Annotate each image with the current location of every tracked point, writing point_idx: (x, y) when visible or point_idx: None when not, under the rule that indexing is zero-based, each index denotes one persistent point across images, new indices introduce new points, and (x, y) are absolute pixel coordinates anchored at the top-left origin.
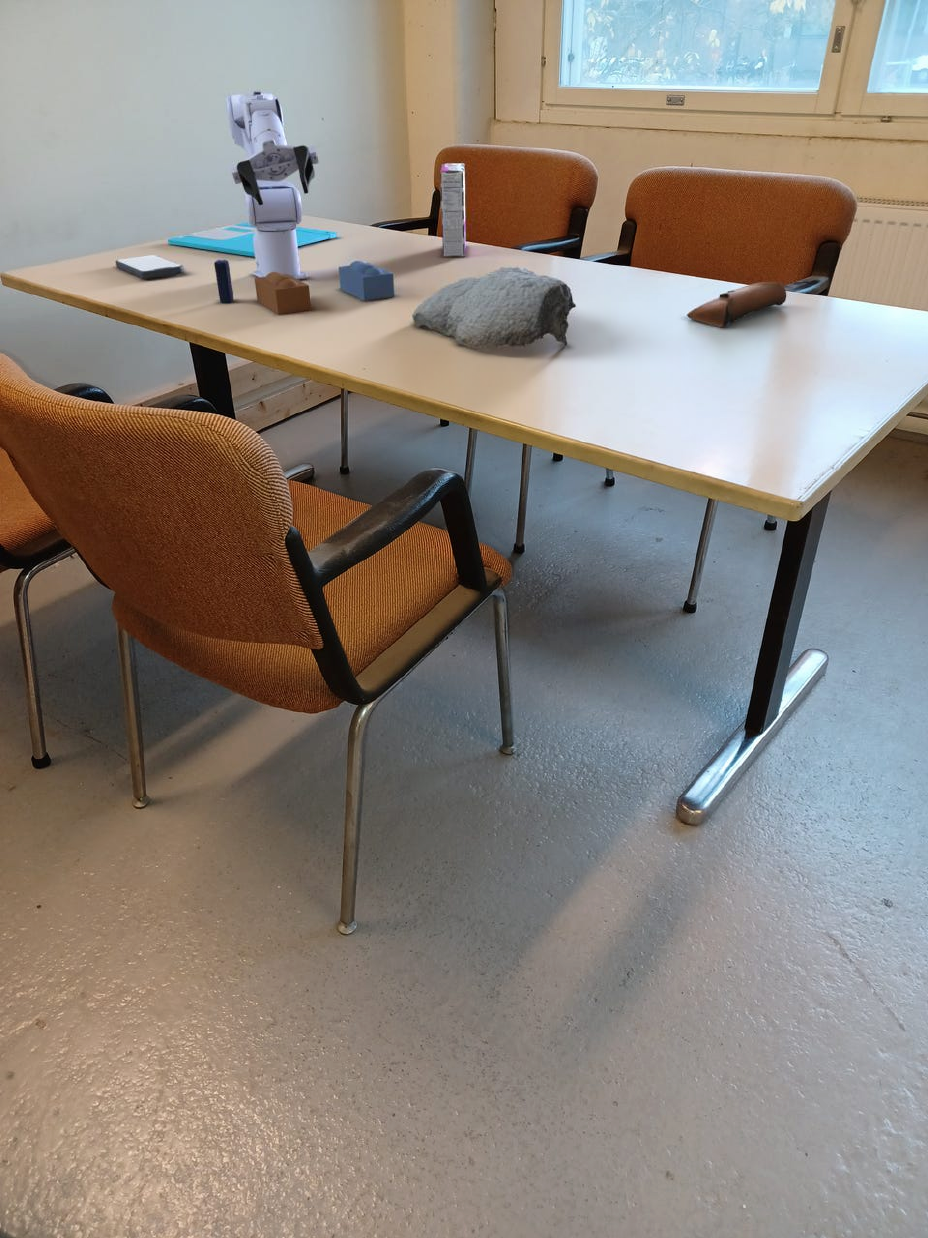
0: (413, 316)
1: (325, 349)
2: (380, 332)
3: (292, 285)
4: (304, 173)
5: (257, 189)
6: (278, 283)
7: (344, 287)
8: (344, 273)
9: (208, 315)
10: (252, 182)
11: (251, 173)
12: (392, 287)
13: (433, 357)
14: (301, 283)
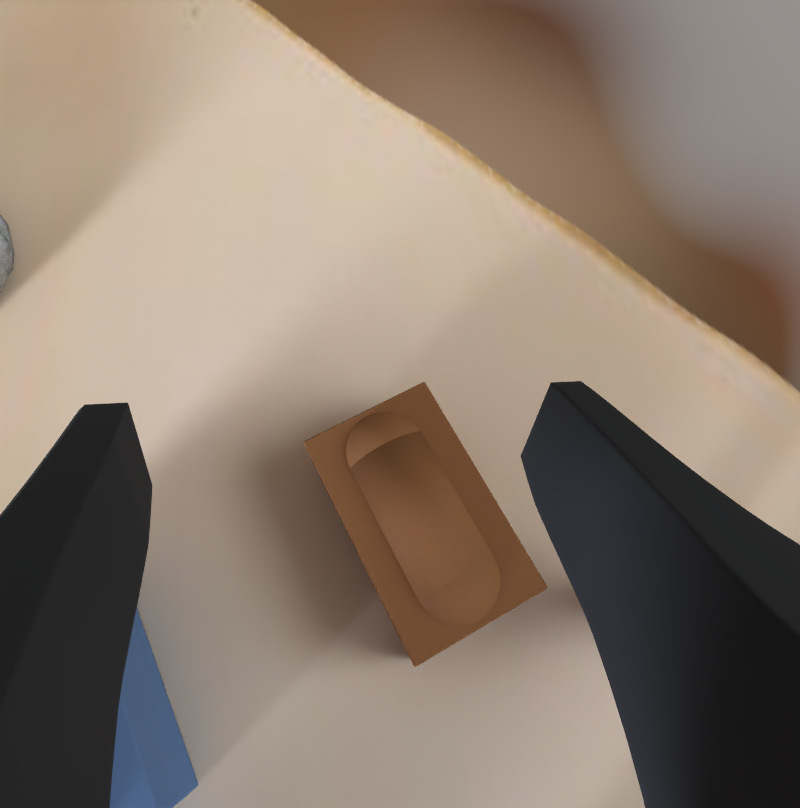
0: (5, 225)
1: (271, 116)
2: (124, 222)
3: (364, 418)
4: (24, 485)
5: (582, 404)
6: (421, 441)
7: (176, 741)
8: (146, 741)
9: (649, 420)
10: (672, 471)
11: (758, 574)
12: None
13: (39, 58)
14: (334, 472)
